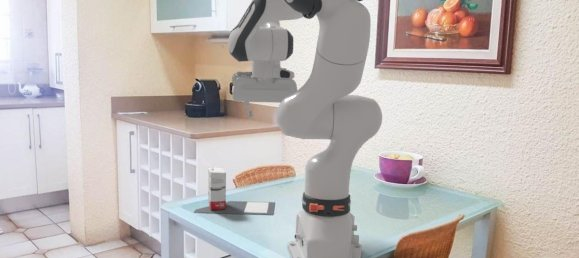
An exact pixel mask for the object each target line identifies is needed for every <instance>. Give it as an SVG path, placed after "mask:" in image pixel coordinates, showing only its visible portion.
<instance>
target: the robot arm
mask: <svg viewBox="0 0 579 258" xmlns="http://www.w3.org/2000/svg"><path fill="white" fill-rule="evenodd" d="M361 1H363V0H251V2H250V4H249V5H248V6H247V9H246V10H245V11H244V14H243V15H242V17H241V18H240V20H239V22H238V23H237V24H236V25H235V26H234V27H233V28H232V29H231V31H230V33H229V37H228V41H227V42H228V43H227V44H228V45H227V46H228V52H229V54H230V56H232V57H233V58H234V59H235V60H236V61H237V62H251V71H237V72H235V73H233V74H232V76H231V83H232V85H233V90H232V100H233V101H234V102H238V103H239V102H240V103H241V102H243V106H244V108H245V110H246V111H247V114H246V115H247V118H248V117H253V113H254V112H253V110H252V109H251V110H250V108H249V105H250V103H275V104H276V103H280V104H279V105H278V107H277V110H276V124H277V125H278V128H279V130H280V131H281V132H282V133H283V135H284V136H287V137H291V138H295V139H301V140H329V141H330V142H329V145H328V146H327V147H326V149H324V150H323V151H320V152H318V153H316V154H315V155H313V156H311V157H310V158H309V159H308V161H307V162H306V164H305V166H304V167H305V169H304V191H303V192H302V197H301V202H302V204H301V205H302V206H301V211H300V212H297V214H296V216H295V232H294V240H291V241H288V242H287V246H286V247H287V249H288V252H289V253H290V256H291V258H362V252H363V251H362V250H363V248H362V247H363V246H362V244H361V243H360V235H359V234H355V232H357V231H358V225H356V224H355V216H354V214H353V213H351V206H352V205H351V203H352V200H351V195H350V194H349V193H350V180H351V172H352V167H353V162H354V160H355V158H356V156H357V154H358V152H359V150H360V149H361V148H362V147H363V146H364V144H366V143H367V142H368V141H369V140H370V139H371V138H373V137H374V136H375V135H376V134H377V133H378V132H379V131H380V129H381V126H382V123H383V113H382V109H381V107H380V105H379V103H378V102H377V101H376V99H374V98H370V97H368V96H367V97H366V96H361V95H356V94H352V93H353V92H354V91H355V90H356V89H357V88H358V87H359V85H361V82H362V79H363V74H364V71H365V65H366V61H367V56H368V52H369V45H370V41H371V40H370V37H371V14H370V12H369V9H368V8H367V7H366V6H365V5H364V4H363V3H361ZM315 16H316V17H317V20H318V22H319V25H318V26H319V30H318V37H317V40H316V41H317V42H316V47H315V54H314V59H313V64H312V68H311V72H310V75H309V76H308V79H307V80H306V82H305V83H304V84H303V85H302V86H301V87H300V88H299V89H298V87H297V83H296V81H295V80H294V78H295V72H293V71H292V70H289V69H287V68H283V67H281V62H283V61H287V60H288V59H289V58H290V57H291V56H292V54H294V36H293V35H292V33H291V32H290V31H289V30H288V29H287V28H283V27H282V26H281V22H280V21H292V20H299V19H302V18H304V19H307V20H310V19H313V18H314V17H315Z"/></svg>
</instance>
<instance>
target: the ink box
mask: <svg viewBox="0 0 579 258" xmlns="http://www.w3.org/2000/svg"><path fill="white" fill-rule="evenodd" d="M207 169H208V170H207V171H208V179H207V181H208V186H207V188H208V189H207V190H208V191H207V192H208V196H207V199H208V202H207V203H208V206H210V209H211V210H221V209H226V202H227V201H226V200H227V194H226V193H227V192H226V191H227V189H226V188H227V187H226V186H227V172H226V170H225V169H224V167H219V166H218V167H215V166H211V167H208V168H207Z"/></svg>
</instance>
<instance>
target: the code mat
mask: <svg viewBox="0 0 579 258" xmlns="http://www.w3.org/2000/svg"><path fill="white" fill-rule="evenodd" d="M275 204H276V202H275V201H273V202H272V201H246V200H245V201H241V200H228V201H226V209H221V210H211V209H210V206H209V205H208V206H205V207H201V208H196V209H195V210H194V211H193V213H195V214H220V215H221V214H223V215H224V214H225V215H226V214H228V215H254V216H255V215H256V216H257V215H261V216H273V215H274V212H275V211H274V210H275V206H276V205H275Z"/></svg>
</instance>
